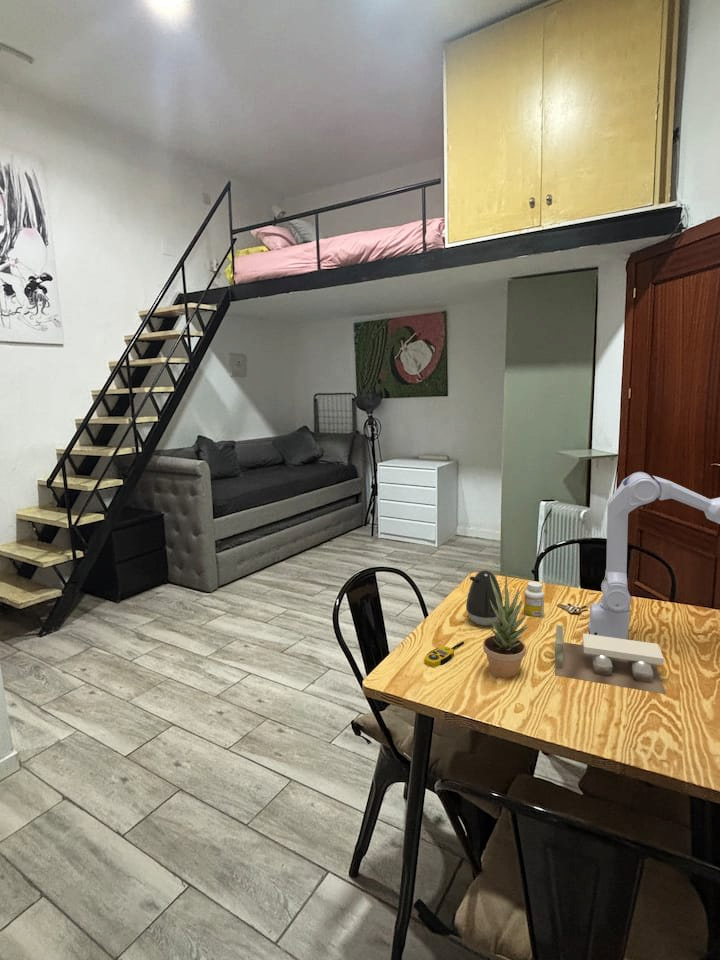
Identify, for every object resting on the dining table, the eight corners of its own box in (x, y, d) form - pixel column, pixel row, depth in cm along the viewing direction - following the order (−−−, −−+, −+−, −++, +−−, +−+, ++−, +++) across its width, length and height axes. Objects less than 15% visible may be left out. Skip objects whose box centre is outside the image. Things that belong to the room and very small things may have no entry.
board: (554, 679, 116) (556, 650, 115) (555, 644, 132) (556, 619, 131) (665, 698, 108) (668, 667, 107) (652, 659, 124) (654, 632, 123)
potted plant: (474, 668, 121) (476, 568, 117) (506, 659, 125) (509, 562, 121) (501, 690, 112) (505, 583, 108) (535, 680, 116) (540, 576, 112)
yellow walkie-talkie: (420, 656, 124) (455, 634, 134) (419, 663, 124) (455, 641, 135) (436, 663, 121) (471, 641, 131) (436, 670, 121) (471, 648, 131)
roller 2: (632, 680, 113) (633, 663, 113) (626, 658, 123) (627, 642, 122) (652, 683, 112) (654, 666, 111) (645, 661, 121) (646, 645, 121)
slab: (583, 652, 118) (584, 646, 117) (582, 639, 124) (582, 633, 124) (663, 665, 112) (663, 658, 112) (657, 649, 118) (658, 643, 118)
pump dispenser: (458, 618, 148) (458, 568, 145) (486, 611, 152) (487, 562, 150) (481, 633, 139) (482, 579, 136) (510, 625, 143) (512, 573, 141)
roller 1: (592, 673, 116) (593, 657, 116) (590, 652, 125) (591, 637, 125) (612, 676, 115) (613, 660, 114) (608, 655, 124) (609, 640, 123)
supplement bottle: (529, 609, 153) (530, 578, 151) (546, 615, 149) (548, 583, 147) (520, 615, 149) (521, 583, 147) (537, 621, 145) (539, 588, 144)
